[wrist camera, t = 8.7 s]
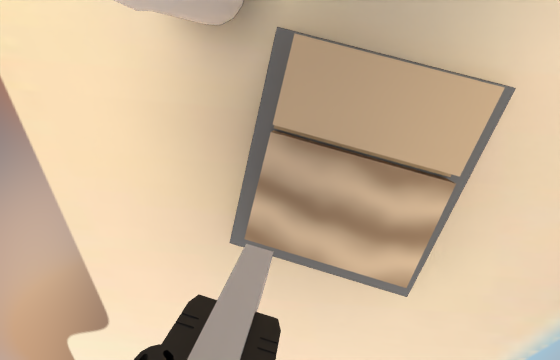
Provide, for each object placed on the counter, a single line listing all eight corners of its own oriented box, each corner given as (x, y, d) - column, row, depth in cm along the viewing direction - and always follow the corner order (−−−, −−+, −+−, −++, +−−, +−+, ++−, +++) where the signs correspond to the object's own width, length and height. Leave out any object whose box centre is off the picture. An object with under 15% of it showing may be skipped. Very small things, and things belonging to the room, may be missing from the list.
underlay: (278, 29, 26) (273, 21, 23) (508, 88, 25) (532, 87, 22) (232, 238, 34) (224, 252, 31) (404, 291, 32) (412, 309, 30)
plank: (273, 130, 28) (270, 131, 26) (446, 178, 27) (456, 183, 25) (248, 230, 31) (244, 238, 29) (400, 276, 30) (406, 288, 28)
